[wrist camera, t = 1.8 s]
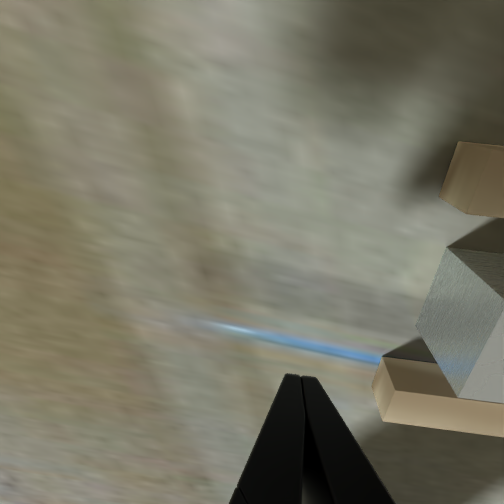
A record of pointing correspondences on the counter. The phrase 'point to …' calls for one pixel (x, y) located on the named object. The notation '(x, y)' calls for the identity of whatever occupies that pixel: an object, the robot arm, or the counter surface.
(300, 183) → the counter surface
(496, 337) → the block
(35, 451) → the counter surface
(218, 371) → the counter surface
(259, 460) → the robot arm
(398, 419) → the slot rails
